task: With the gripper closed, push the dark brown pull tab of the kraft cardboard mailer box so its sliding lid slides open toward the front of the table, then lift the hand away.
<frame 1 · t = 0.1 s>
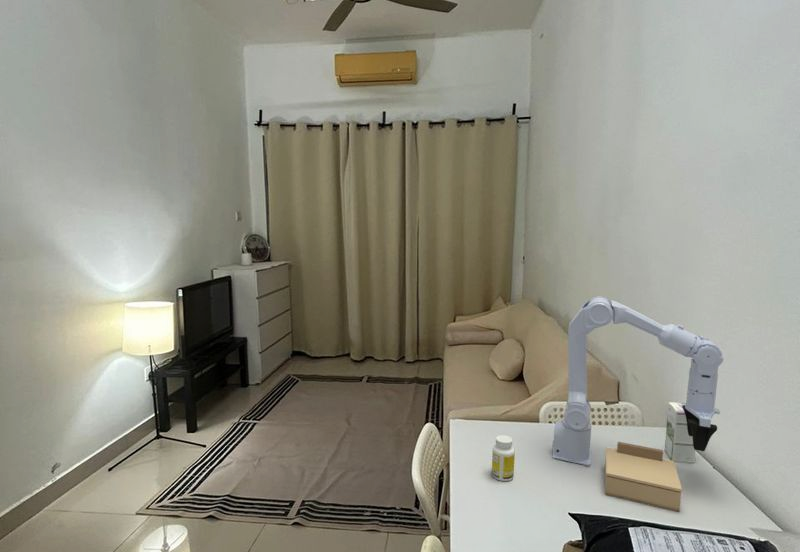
hand: (696, 442, 111), 10 cm above the table, tool pointing down, fingers open, 7 cm apart
supplement bottle: (502, 476, 114), on the table
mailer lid: (641, 463, 108), point 6 cm above the table, slide at 0.0 cm
mailer box: (639, 487, 109), on the table
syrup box: (678, 457, 124), on the table
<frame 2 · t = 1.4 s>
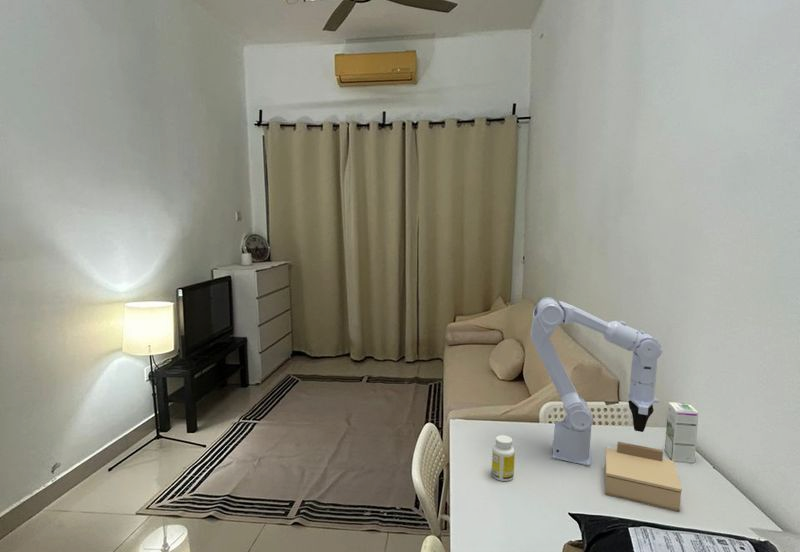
hand: (638, 430, 119), 9 cm above the table, tool pointing down, fingers closed
nothing on the table moved.
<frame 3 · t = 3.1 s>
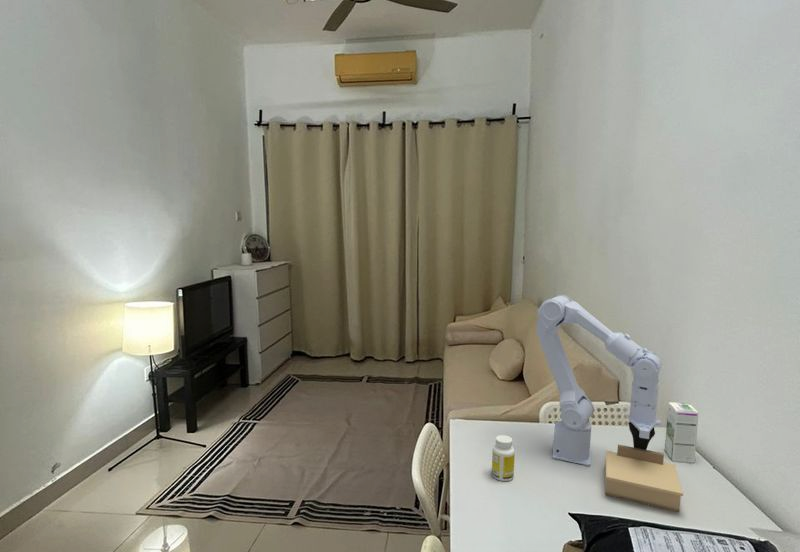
hand: (639, 453, 114), 6 cm above the table, tool pointing down, fingers closed
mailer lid: (641, 466, 107), point 6 cm above the table, slide at 1.7 cm, touching gripper
everything else where it was.
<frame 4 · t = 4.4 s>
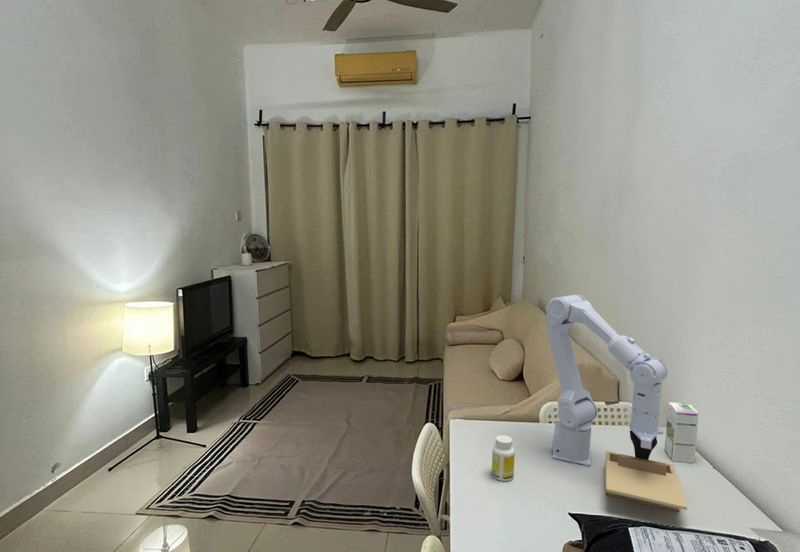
hand: (640, 463, 109), 6 cm above the table, tool pointing down, fingers closed
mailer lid: (643, 477, 102), point 6 cm above the table, slide at 6.9 cm, touching gripper
everything else where it was.
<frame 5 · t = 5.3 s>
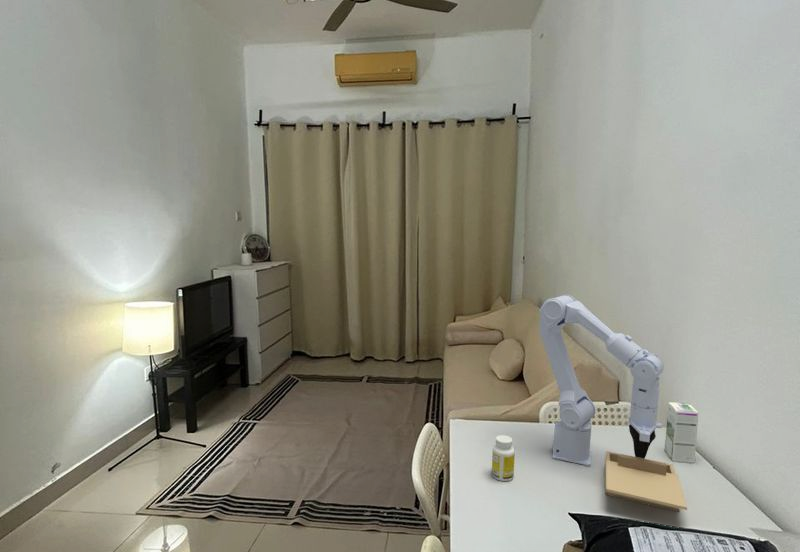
hand: (639, 456, 112), 6 cm above the table, tool pointing down, fingers closed
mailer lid: (643, 477, 102), point 6 cm above the table, slide at 6.9 cm
everything else where it was.
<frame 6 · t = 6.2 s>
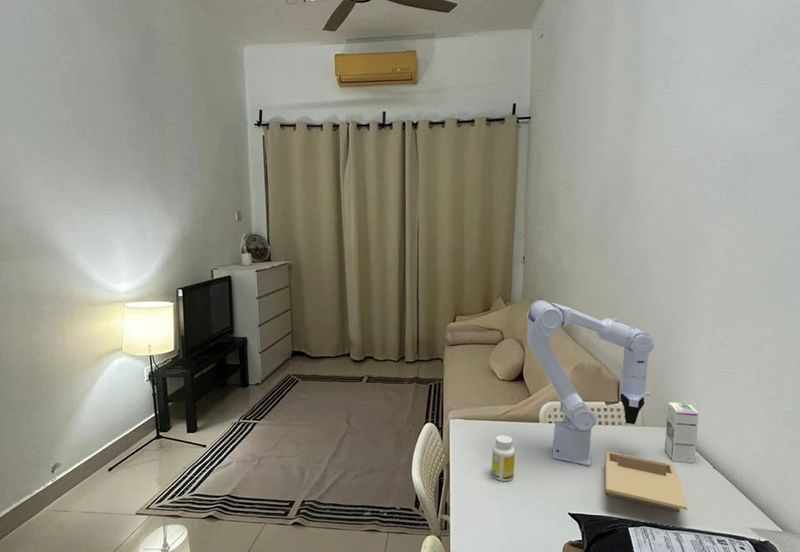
hand: (630, 422, 122), 10 cm above the table, tool pointing down, fingers closed
nothing on the table moved.
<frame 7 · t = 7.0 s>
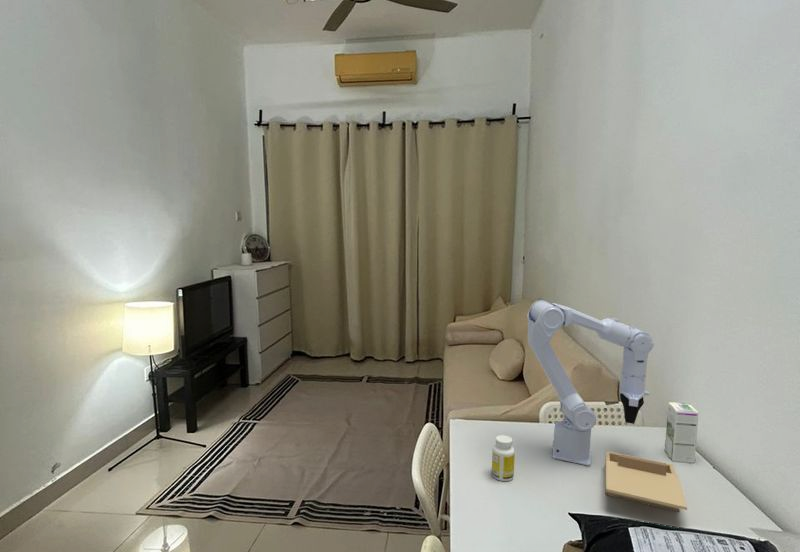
hand: (629, 422, 122), 10 cm above the table, tool pointing down, fingers closed
nothing on the table moved.
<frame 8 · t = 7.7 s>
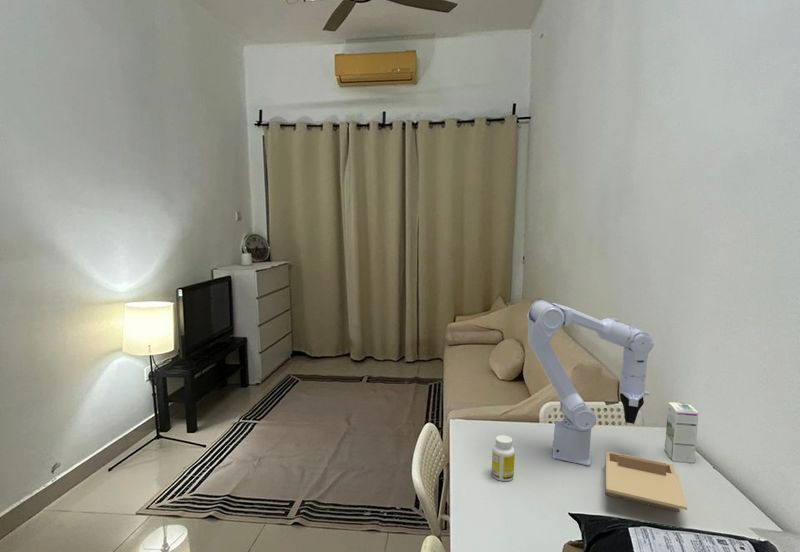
hand: (629, 422, 122), 10 cm above the table, tool pointing down, fingers closed
nothing on the table moved.
at the end: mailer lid slide at 6.9 cm; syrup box moved 0.2 cm from its start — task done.
